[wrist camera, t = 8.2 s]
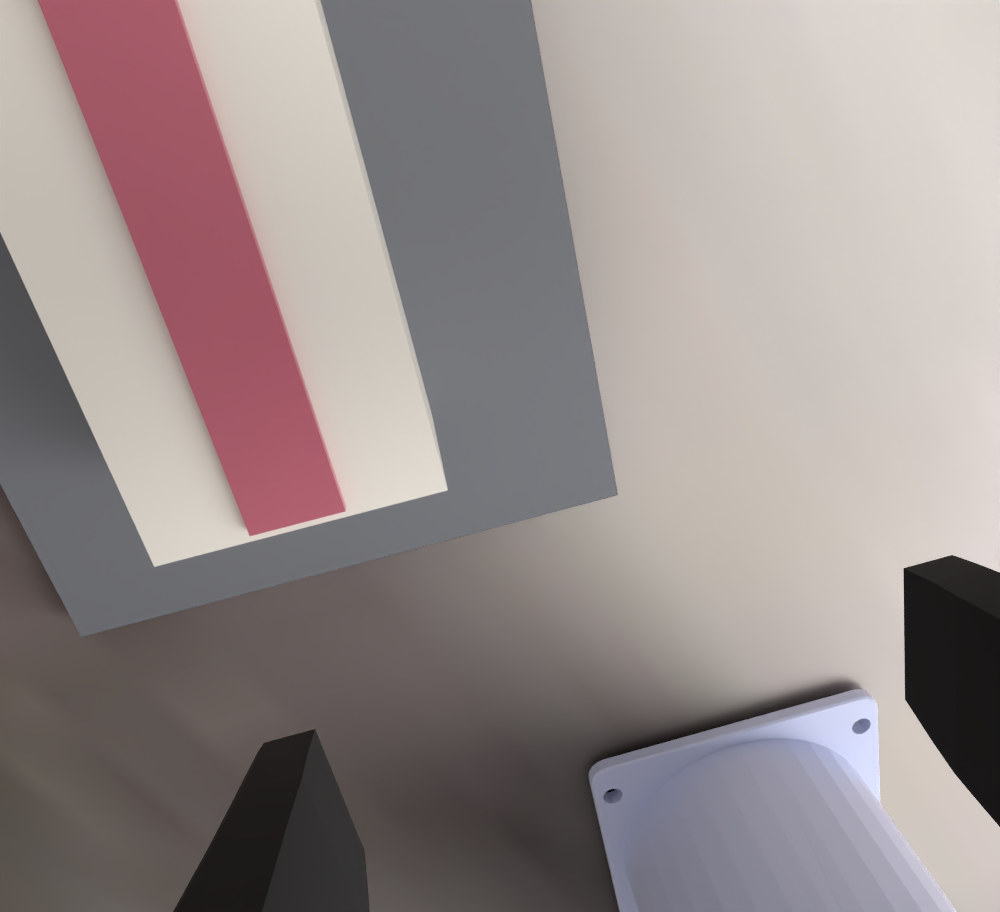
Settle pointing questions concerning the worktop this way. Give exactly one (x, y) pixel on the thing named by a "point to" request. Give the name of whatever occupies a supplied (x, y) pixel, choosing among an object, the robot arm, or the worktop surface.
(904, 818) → the worktop surface
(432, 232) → the mat
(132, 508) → the card deck
